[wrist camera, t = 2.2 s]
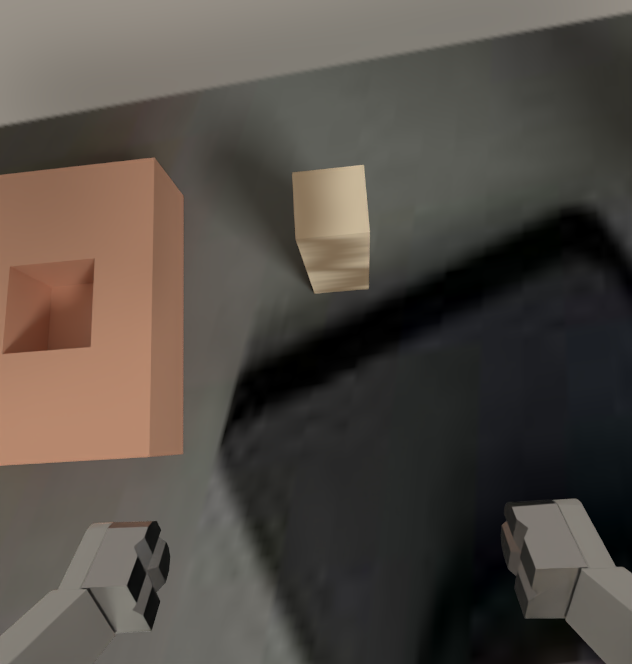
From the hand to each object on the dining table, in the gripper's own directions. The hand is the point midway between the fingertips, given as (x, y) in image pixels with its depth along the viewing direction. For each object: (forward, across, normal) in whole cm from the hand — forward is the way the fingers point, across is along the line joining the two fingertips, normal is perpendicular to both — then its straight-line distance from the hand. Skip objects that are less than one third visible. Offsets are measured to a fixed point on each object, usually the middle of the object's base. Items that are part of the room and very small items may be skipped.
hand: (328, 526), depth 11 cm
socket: (+24, +19, +8) cm, 31 cm away
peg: (+26, 0, +5) cm, 27 cm away
